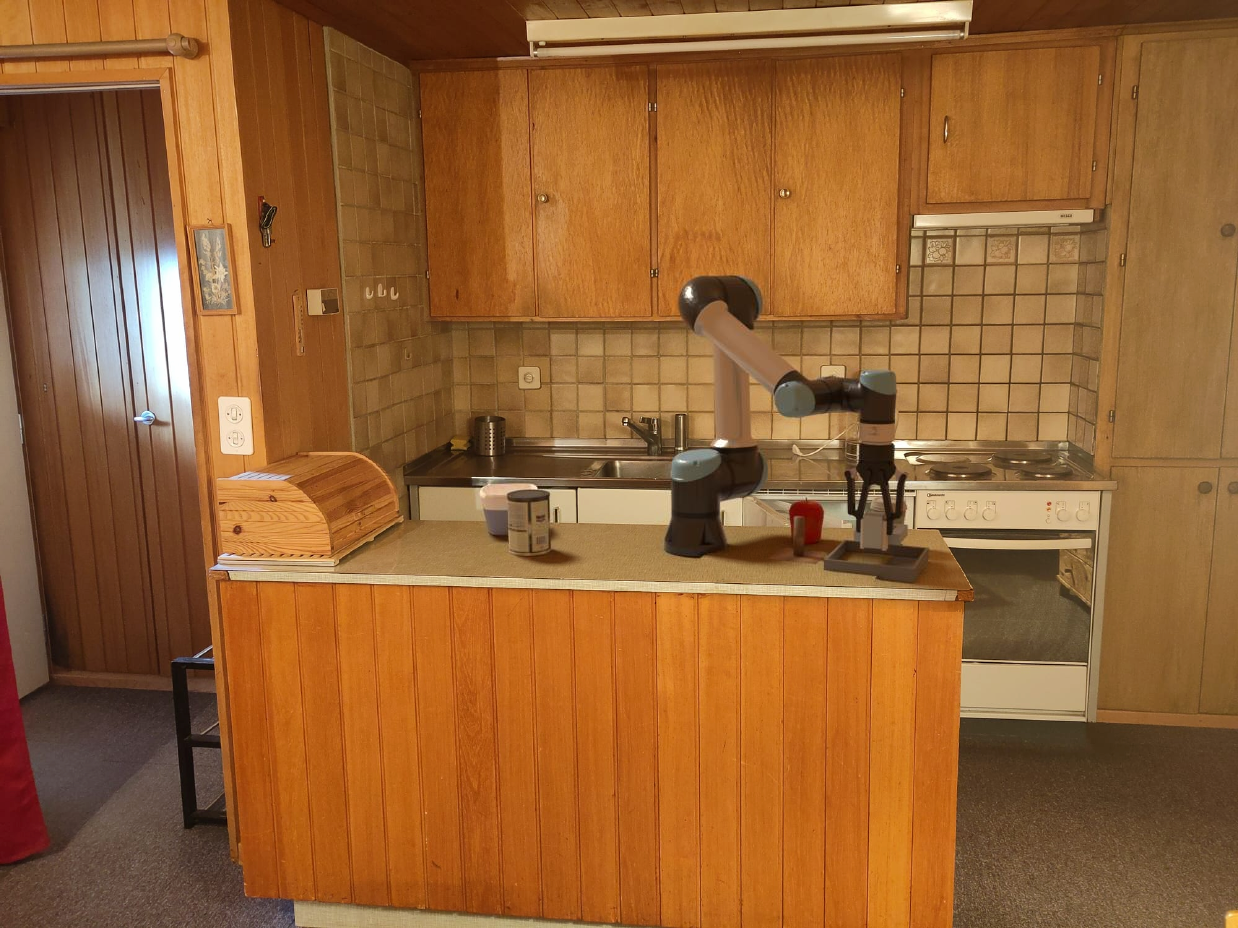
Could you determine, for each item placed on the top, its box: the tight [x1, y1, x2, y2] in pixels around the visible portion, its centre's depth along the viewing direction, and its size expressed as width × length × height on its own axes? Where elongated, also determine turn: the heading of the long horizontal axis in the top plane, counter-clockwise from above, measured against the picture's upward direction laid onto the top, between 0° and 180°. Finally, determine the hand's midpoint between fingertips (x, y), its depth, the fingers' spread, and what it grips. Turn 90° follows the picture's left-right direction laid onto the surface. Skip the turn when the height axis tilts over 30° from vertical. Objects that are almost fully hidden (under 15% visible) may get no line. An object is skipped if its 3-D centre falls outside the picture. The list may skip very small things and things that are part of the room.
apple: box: [788, 496, 825, 545], centre depth 252 cm, size 9×8×12 cm
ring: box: [853, 510, 909, 549], centre depth 231 cm, size 10×15×7 cm, turn 155°
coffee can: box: [507, 489, 552, 557], centre depth 248 cm, size 10×10×14 cm
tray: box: [823, 539, 930, 584], centre depth 232 cm, size 19×19×3 cm
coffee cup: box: [870, 496, 908, 545], centre depth 247 cm, size 8×8×12 cm
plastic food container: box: [479, 483, 539, 537], centre depth 269 cm, size 15×15×11 cm
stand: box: [768, 516, 828, 565], centre depth 239 cm, size 11×11×10 cm
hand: (874, 547), depth 227 cm, fingers closed on ring, 4 cm apart
